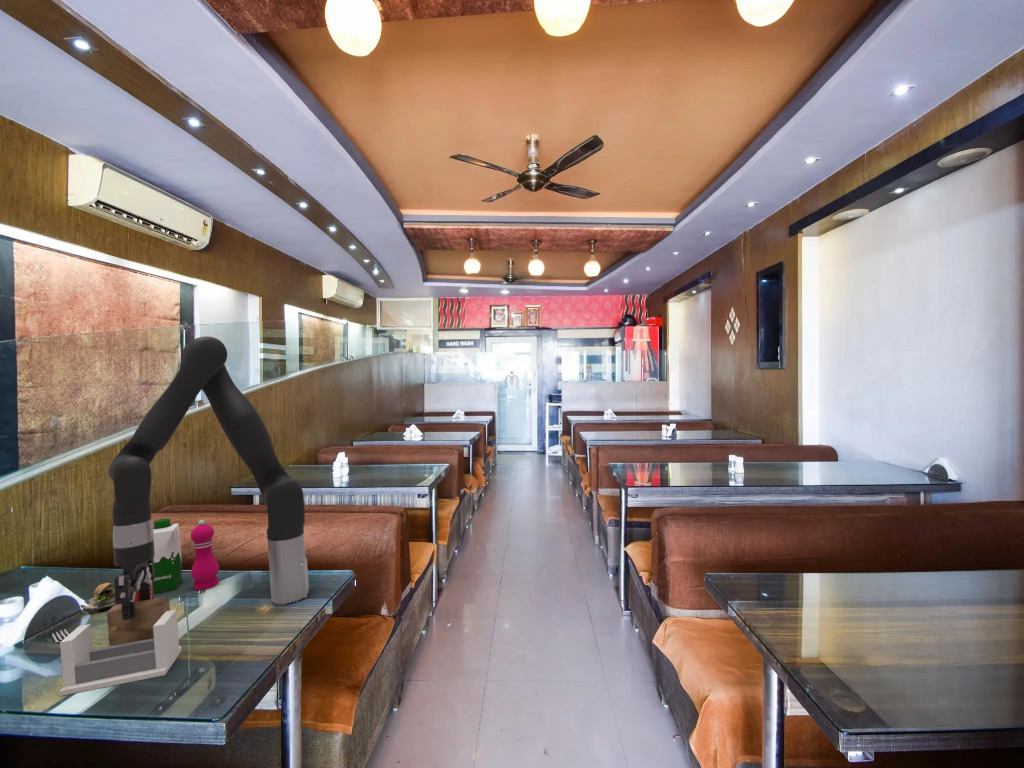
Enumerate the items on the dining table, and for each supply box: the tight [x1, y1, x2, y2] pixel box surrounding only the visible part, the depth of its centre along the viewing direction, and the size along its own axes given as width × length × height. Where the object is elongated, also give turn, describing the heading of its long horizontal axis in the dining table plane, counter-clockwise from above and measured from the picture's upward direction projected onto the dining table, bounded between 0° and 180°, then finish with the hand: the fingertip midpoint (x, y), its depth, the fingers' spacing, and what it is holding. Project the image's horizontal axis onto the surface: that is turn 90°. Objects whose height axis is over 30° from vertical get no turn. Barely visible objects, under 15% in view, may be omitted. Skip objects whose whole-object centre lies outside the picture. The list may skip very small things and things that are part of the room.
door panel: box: [106, 596, 171, 647], centre depth 115 cm, size 11×4×10 cm, turn 107°
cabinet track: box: [58, 609, 183, 697], centre depth 105 cm, size 18×10×10 cm, turn 107°
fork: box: [51, 628, 70, 643], centre depth 116 cm, size 3×24×2 cm, turn 58°
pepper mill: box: [190, 519, 220, 591], centre depth 149 cm, size 7×7×20 cm
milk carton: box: [152, 518, 183, 595], centre depth 149 cm, size 9×9×20 cm
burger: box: [80, 581, 118, 614], centre depth 140 cm, size 12×12×8 cm
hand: (137, 610), depth 115 cm, fingers open, 8 cm apart
